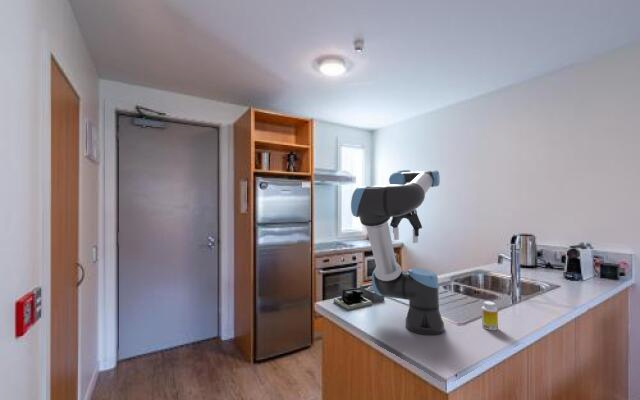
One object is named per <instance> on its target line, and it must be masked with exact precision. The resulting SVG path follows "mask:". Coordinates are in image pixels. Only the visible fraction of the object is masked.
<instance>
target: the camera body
mask: <svg viewBox="0 0 640 400" xmlns="http://www.w3.org/2000/svg"><path fill="white" fill-rule="evenodd" d="M359 286H360V287H359V288H361V291H363V295H362V294H361V296H362V297H364V298H366V299H368V300H370V301H372V303H378V302H382V301H385V297H384V296H380V295H378V294H376V293H375V291H374V290H373V287H372V282H369V283H364V284H360V285H359Z"/></svg>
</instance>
